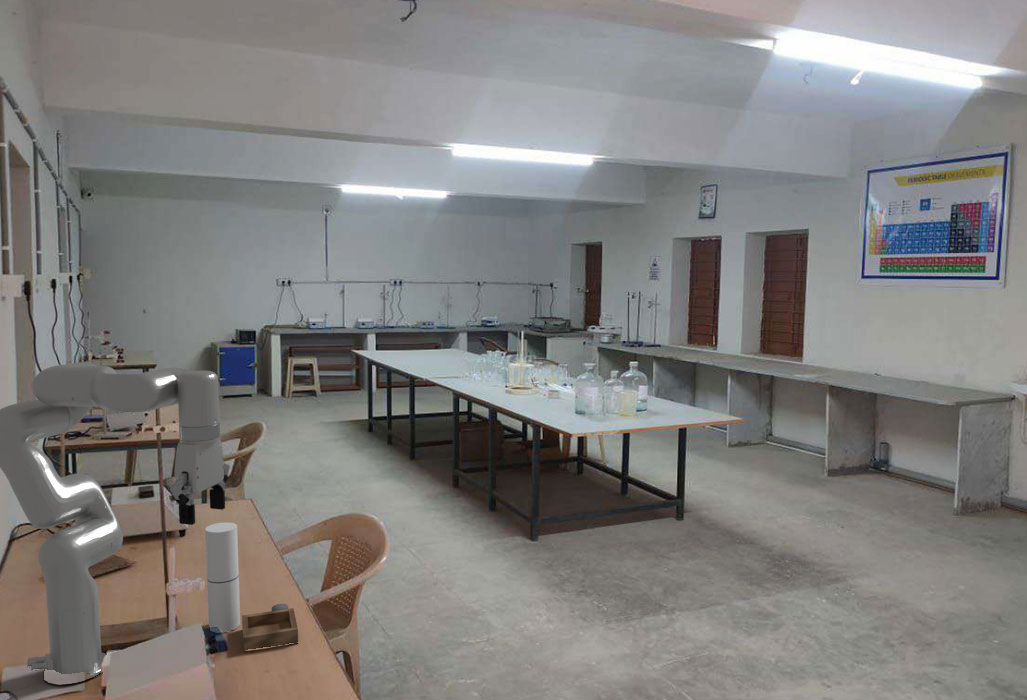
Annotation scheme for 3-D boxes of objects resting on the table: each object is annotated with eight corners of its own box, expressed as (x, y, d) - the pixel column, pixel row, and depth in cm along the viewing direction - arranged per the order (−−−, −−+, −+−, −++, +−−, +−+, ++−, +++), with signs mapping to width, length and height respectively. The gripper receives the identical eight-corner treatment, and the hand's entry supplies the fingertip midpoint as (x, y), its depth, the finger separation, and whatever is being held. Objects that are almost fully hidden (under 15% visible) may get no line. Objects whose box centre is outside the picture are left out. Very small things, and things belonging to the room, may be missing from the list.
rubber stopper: (272, 623, 188) (272, 611, 188) (271, 616, 192) (271, 605, 191) (289, 620, 189) (288, 609, 189) (287, 614, 193) (287, 602, 193)
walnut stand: (243, 652, 173) (243, 637, 173) (242, 629, 185) (242, 615, 184) (298, 643, 178) (297, 629, 177) (293, 621, 189) (293, 608, 189)
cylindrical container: (207, 635, 182) (203, 533, 179) (210, 621, 188) (207, 523, 186) (239, 631, 184) (235, 531, 181) (241, 618, 190) (238, 521, 188)
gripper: (210, 423, 161) (212, 502, 163) (153, 441, 145) (157, 528, 146) (241, 425, 160) (244, 504, 161) (188, 443, 143) (191, 531, 145)
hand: (203, 516), depth 154 cm, fingers open, 9 cm apart
